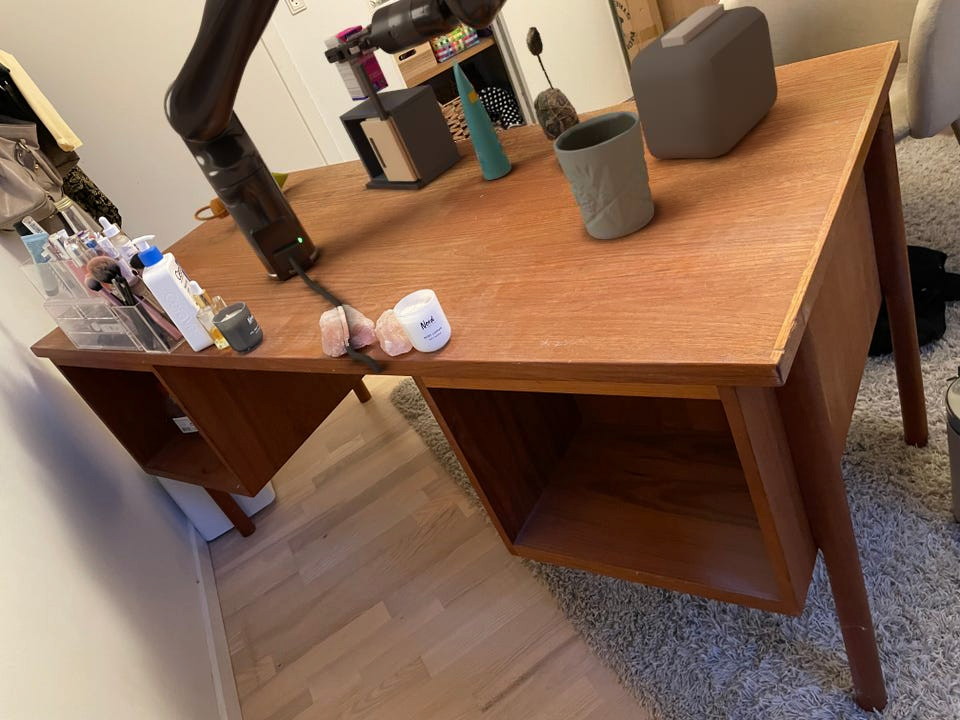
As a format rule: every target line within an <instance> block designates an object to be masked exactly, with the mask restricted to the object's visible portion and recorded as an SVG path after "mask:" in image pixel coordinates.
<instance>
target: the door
mask: <svg viewBox="0 0 960 720" xmlns="http://www.w3.org/2000/svg"><path fill="white" fill-rule="evenodd" d="M355 68H356V70H357V72H358V74H359V77H360V79H361V81H362V83H363V85H364V87H365V89H366V91H367V93H368V95H369V98H370V100H371V102H372V104H373V106H374V108H375V110H376V112H377V114H378V116H379V118H380V120H371V121H363V122H361V123H360V124H361V126H362V128H363V130H364V132H365V134H366V136H367V138H368V140H369V142H370V144H371V146H372V148H373V150H374V152H375V154H376V156H377V158H378V160H379V162H380V164H381V166H382V168H383V170H384V172H385V174H386V176H387V178H388V180H389V181H416V180H417V177H416V175H415V173H414V171H413V169H412V167H411V165H410V163H409V160H408V158H407V156H406V154H405V152H404V150H403V148H402V146H401V143H400V141H399V139H398V137H397V135H396V133H395V131H394V129H393V126H392V124H391V122H390V120H389V118H388V116H387V114H386V111H385V109H384V107H383V105H382V103H381V101H380V99H379V97H378V94H377V93H378V92H376V90H375V88H374V86H373V84H372V82H371V80H370V77H369V75H368V73H367V71H366V69H365V67H364V65H363V63H361V64H357V65H356V66H355Z"/></svg>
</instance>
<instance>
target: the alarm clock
mask: <svg viewBox="0 0 960 720" xmlns="http://www.w3.org/2000/svg"><path fill="white" fill-rule="evenodd" d="M774 61H775V60H774V55H773V49H772V42H771V34H770V27H769V22H768V19H767V17H766V15H765V13H764V12H763V11H761V10H760V9H759V8H758V7H756V6H753V5H752V6H749V5H745V6H739V7H734V8H729V9H725V4H724V3H717V4H711V5H707V6H703V7H700V8H698V10H696V11H695V12H693V13H692V14H691V15H689V16H688V17H684V18H681V19H679V21H677V22H676V23H675V24H673V25H672V26H671V27H669V28H668V29H666V30H665V31H664V32H663V33H662V34H660V35H659V36H657V38H655V39H654V40H653V41H651V42H650V43H648V44H647V45H646V46H645V47H643V48H642V49H641V50H640V51H638V52H637V53H636V54H635V56H634V57H633V59H632V61H631V65H630V69H629V81H630V87H631V92H632V95H633V99H634V101H635V102H634V103H635V107H636V110H637V115H638V116H639V118H640V124H641V130H642V134H643V136H644V141H645V144H646V148H647V150H648V152H649V154H650V155H651V157H653V158H655V159H657V160H661V159H663V160H664V159H665V160H666V159H667V160H668V159H709V158H711V159H712V158H716V157H719V156H722V155H725V154H726V153H728V152H730V151H731V150H732V149H733V148H734V147H735V145H737V144H738V143H739V142H740V141H741V140H742V139H743V138H744V137H745V136H747V134H748V133H749V132H750V131H751V130H752V129H753V128H754V127H755V126H756V125H757V124H759V122H761V120H762V119H763V118H764V117H765V116H767V114H768V113H769V112H770V111H771V110H772V108H773V107H774V106H775V104H776V102H777V100H778V91H779V88H778V83H777V82H778V81H777V77H776V76H777V75H776V69H775V62H774Z"/></svg>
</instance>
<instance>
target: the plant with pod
mask: <svg viewBox="0 0 960 720" xmlns="http://www.w3.org/2000/svg"><path fill="white" fill-rule="evenodd" d="M525 41H526V47H527V49H528V51H529V52H530V54H531V55H532V56H534V57H537V60H538V63H539V65H540V67H541V69H542V71H543V73H544V75H545V78H546V80H547V82H548V84H549V87H548V88H546V89H545V90H543V91H540V92H539V94H537V96H536V97H535V99H534V100H533V108H534V110H535V116H536V119H537V122H538V123H539V126H540V127H541V129H542V132H543V134H544V135H545V136H546V139H547V140H549V141H551V142H552V141H555V140H556V139H557V138H558V137H559V136H560V135H561V134H562V133H563V132H565V131H566V130H568V129H570V128H571V127H573V126H575V125H577V124H579V123H581V122H580V117H579V115H578V113H577V110H576V108H575V106H574V105H573V104H572V103H571V101H570V100H569V98H568V97H567V95H566V94H565V93H564V92H562V90H561V89H560V88H558V87H557V88H556V87H554V86H553V84H552V81H551V80H550V78H549V76H548V74H547V71H546V69H545V67H544V64H543V62H542V61H543V60H542V58H541V54H542V53H543V50H544V44H543V41H542V37H541V33H540V32H539V30H538V28H537V27H536V26H531V27H529V28H528V31H527V34H526V39H525ZM555 161H556V162H557V164H558V166H559V167H561V168H562V166H561V164H560V162H559V159H558V157H557V158H555Z"/></svg>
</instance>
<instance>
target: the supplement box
mask: <svg viewBox="0 0 960 720" xmlns="http://www.w3.org/2000/svg"><path fill="white" fill-rule="evenodd" d="M363 28H364V27H363V26H362V24H360V25H355V26H352V27H347V28H346V29H344V30H342V31H339V32H338V33H336V34H334V35H332V36H330V37H329V38H327V39H325V40H323V42H324V44H325V47H326V49H327V50H329V49H331V48H334V47H337V46H338V45H339V44H340V45H341V44H343V43H345V42H347V39H348V38H349V37H350V36H352V35H354V34H356V33H359V32H361V30H362V29H363ZM354 40H355V41H356V40H357V38H355V39H353V41H354ZM362 51H363V49H362ZM361 63H363V65H364V67H365V69H366V71H367V73H368V75H369V77H370V80H371V82H372V84H373V86H374V88H375V90H376V92H377V93H380V92H381V91H382V90H384V89H386V88H388V87H389V83H388V80H387V79H386V77H385V74H384V72H383V70H382V67H381V66H380V63H379V60H378V59H377V56H376V55H375V51H374V52H368V53H366V54H364V55H362V57H358V58H355V59H352V60H349V61H346V62H344V63H342V64H341V63H340V64H339V62H338V61H337V62H334V63H333V64H334V65H335V68H336V69H337V72H338V74H339V75H340V78H341V80H342V81H343V82H342V83H343V84H344V87H345V88H346V90H347V92H348V94H349V97H350V98H351V100H352V102H358V101H365V100H367V99H368V98H370V97H369V95H368V93H367V91H366V89H365V87H364V85H363V83H362V81H361V79H360V77H359V74H358V72H357V70H356V68H355V66H356V65H357V64H361Z"/></svg>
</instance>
